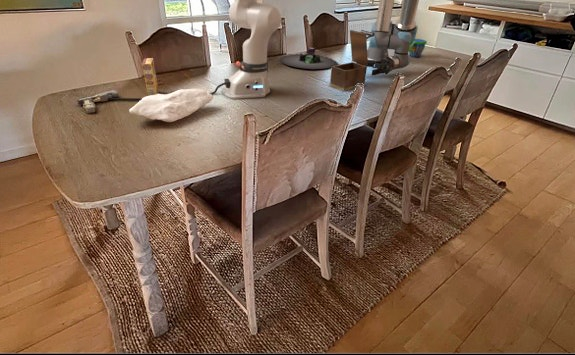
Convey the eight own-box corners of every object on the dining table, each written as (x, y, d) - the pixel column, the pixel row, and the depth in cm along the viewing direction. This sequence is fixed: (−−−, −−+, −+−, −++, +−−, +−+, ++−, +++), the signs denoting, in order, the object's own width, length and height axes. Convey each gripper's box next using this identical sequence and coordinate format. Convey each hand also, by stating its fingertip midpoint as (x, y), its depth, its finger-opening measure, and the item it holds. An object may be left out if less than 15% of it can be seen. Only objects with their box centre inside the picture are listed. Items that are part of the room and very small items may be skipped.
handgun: (128, 97, 156) (111, 87, 164) (86, 107, 144) (70, 97, 152) (129, 103, 157) (113, 94, 165) (88, 114, 146) (72, 103, 154)
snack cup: (416, 52, 253) (419, 37, 248) (428, 56, 246) (432, 40, 240) (401, 55, 246) (404, 39, 240) (413, 59, 238) (416, 43, 233)
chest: (343, 91, 181) (346, 71, 176) (329, 85, 187) (331, 66, 182) (364, 85, 189) (367, 66, 184) (350, 80, 196) (352, 61, 191)
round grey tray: (348, 64, 220) (349, 48, 215) (302, 72, 202) (302, 55, 198) (313, 55, 244) (313, 41, 240) (269, 61, 227) (268, 46, 222)
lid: (365, 34, 173) (376, 27, 176) (349, 30, 179) (360, 24, 182) (366, 65, 184) (377, 59, 187) (352, 61, 190) (362, 54, 193)
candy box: (157, 97, 164) (152, 63, 155) (147, 98, 163) (141, 63, 155) (158, 91, 171) (153, 57, 163) (149, 91, 170) (143, 58, 162)
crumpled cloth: (117, 110, 146) (113, 90, 140) (195, 92, 166) (194, 73, 160) (143, 139, 134) (140, 118, 128) (223, 116, 154) (224, 96, 148)
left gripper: (358, -29, 156) (354, 6, 163) (388, -29, 167) (383, 4, 174) (348, -30, 160) (344, 4, 167) (377, -30, 171) (373, 2, 178)
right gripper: (405, 76, 196) (379, 82, 185) (370, 65, 212) (344, 70, 201) (408, 62, 192) (382, 68, 181) (372, 52, 208) (346, 56, 197)
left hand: (364, 4), depth 171 cm, fingers open, 8 cm apart
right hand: (362, 69), depth 191 cm, fingers open, 13 cm apart
